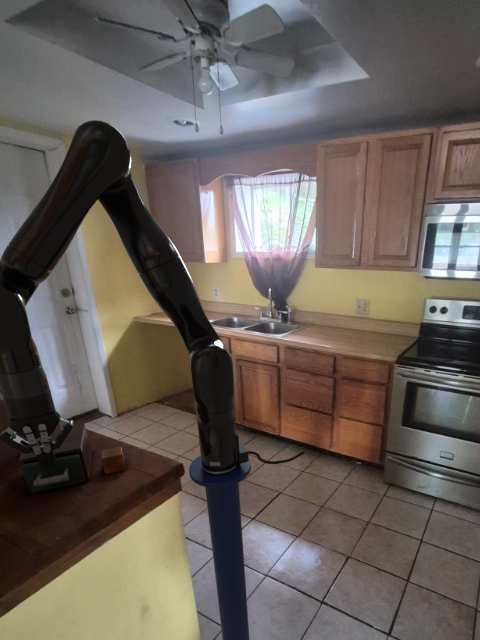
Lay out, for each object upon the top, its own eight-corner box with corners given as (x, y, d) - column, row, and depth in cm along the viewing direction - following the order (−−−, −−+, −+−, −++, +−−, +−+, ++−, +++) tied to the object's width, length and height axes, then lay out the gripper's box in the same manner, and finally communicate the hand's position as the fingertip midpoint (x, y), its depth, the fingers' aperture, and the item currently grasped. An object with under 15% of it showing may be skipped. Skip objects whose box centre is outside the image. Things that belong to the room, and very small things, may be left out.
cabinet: (89, 480, 86) (80, 448, 83) (30, 493, 82) (18, 459, 78) (91, 452, 97) (84, 423, 94) (39, 462, 93) (30, 432, 89)
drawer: (84, 492, 80) (76, 466, 78) (27, 505, 76) (17, 478, 74) (87, 454, 94) (81, 431, 92) (39, 464, 90) (32, 440, 88)
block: (124, 461, 94) (121, 445, 92) (125, 470, 90) (121, 454, 88) (105, 464, 92) (101, 449, 90) (105, 474, 88) (101, 458, 87)
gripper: (67, 379, 77) (85, 451, 83) (-11, 388, 71) (15, 464, 78) (64, 391, 70) (83, 468, 77) (-23, 402, 65) (6, 484, 72)
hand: (49, 466), depth 78 cm, fingers closed
